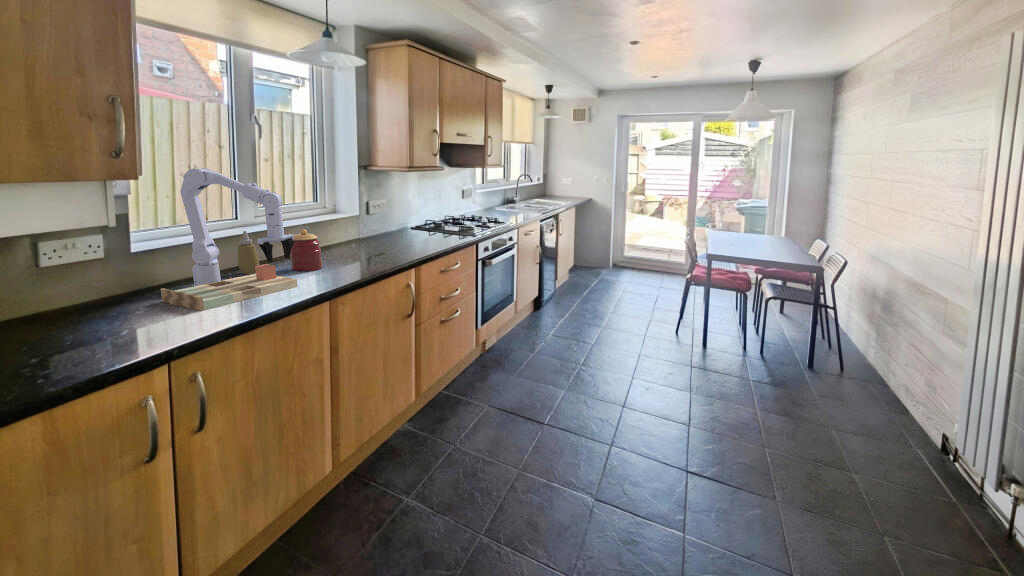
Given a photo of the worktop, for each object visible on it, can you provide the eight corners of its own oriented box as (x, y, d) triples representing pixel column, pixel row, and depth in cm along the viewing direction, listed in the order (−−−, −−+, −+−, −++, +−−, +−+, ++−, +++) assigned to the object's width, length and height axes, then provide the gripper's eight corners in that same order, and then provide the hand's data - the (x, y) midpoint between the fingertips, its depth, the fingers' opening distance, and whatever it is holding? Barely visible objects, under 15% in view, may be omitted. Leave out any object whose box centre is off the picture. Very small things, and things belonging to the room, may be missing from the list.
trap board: (162, 301, 170) (160, 289, 169) (260, 279, 202) (258, 269, 200) (201, 311, 160) (199, 297, 159) (297, 286, 192) (296, 275, 191)
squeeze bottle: (254, 270, 219) (249, 229, 215) (264, 272, 214) (259, 231, 210) (235, 273, 213) (230, 231, 208) (245, 276, 208) (240, 233, 204)
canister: (293, 266, 227) (289, 228, 223) (323, 265, 230) (320, 227, 226) (289, 272, 215) (285, 232, 210) (321, 271, 218) (317, 231, 214)
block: (256, 278, 190) (255, 266, 189) (268, 276, 195) (267, 263, 193) (264, 280, 188) (262, 267, 187) (276, 278, 192) (275, 265, 191)
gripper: (264, 227, 181) (268, 264, 185) (298, 223, 194) (301, 257, 197) (252, 226, 185) (256, 262, 188) (286, 222, 197) (289, 256, 200)
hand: (278, 260), depth 193 cm, fingers open, 7 cm apart
